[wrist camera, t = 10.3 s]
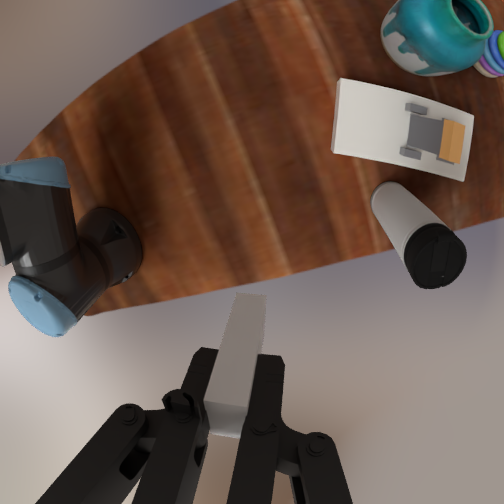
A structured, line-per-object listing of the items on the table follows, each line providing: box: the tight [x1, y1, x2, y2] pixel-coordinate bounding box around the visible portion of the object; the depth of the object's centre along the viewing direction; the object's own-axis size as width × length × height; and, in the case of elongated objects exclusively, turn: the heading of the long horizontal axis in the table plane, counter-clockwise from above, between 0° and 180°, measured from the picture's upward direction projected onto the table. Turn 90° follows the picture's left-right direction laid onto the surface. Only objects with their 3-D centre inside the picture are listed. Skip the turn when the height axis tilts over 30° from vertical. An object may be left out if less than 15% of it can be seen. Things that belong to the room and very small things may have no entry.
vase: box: [380, 0, 494, 76], centre depth 20 cm, size 11×11×19 cm
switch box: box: [331, 78, 474, 182], centre depth 32 cm, size 20×10×6 cm, turn 87°
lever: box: [406, 114, 465, 164], centre depth 27 cm, size 2×4×9 cm, turn 177°
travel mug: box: [370, 181, 467, 289], centre depth 31 cm, size 6×7×20 cm
